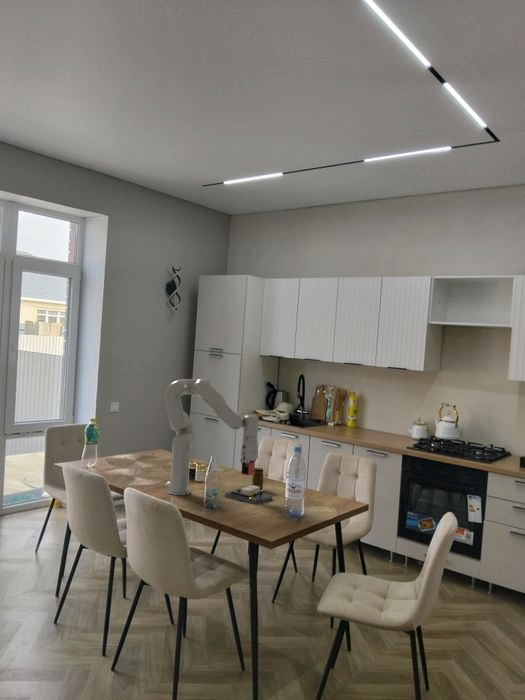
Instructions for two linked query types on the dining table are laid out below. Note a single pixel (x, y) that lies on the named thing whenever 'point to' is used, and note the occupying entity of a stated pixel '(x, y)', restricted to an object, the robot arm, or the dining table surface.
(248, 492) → the breaker
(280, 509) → the dining table surface
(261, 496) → the panel
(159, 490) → the dining table surface
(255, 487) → the breaker
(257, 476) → the condiment
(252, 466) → the cap
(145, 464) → the dining table surface
